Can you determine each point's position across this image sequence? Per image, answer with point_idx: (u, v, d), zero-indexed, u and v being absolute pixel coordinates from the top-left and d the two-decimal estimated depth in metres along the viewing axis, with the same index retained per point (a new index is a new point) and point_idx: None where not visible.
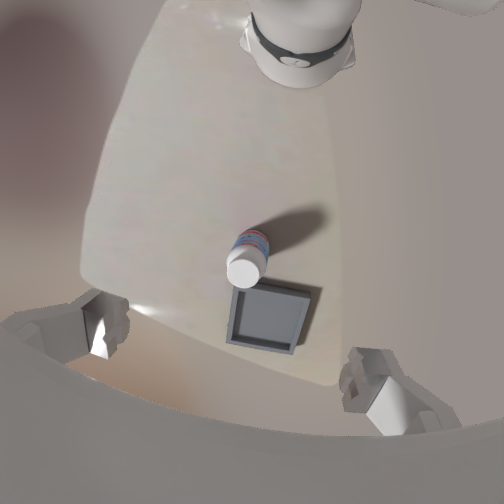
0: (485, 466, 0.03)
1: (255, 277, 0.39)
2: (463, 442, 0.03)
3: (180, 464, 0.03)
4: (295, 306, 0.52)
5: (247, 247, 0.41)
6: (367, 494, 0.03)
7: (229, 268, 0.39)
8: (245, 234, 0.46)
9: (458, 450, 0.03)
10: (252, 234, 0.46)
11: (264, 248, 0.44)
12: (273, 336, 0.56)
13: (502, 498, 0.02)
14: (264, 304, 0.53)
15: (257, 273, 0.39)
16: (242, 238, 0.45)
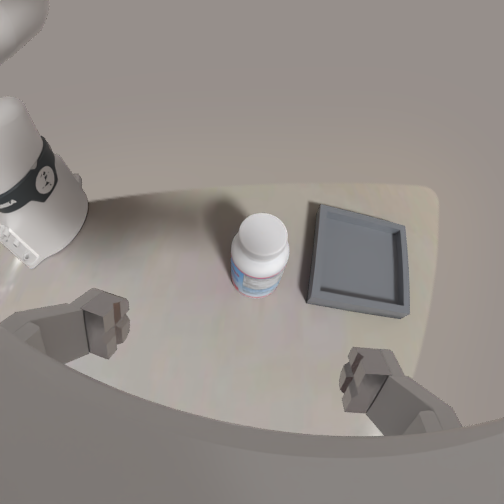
0: (485, 466, 0.03)
1: (267, 217, 0.27)
2: (463, 442, 0.03)
3: (180, 464, 0.03)
4: (337, 226, 0.39)
5: (232, 243, 0.29)
6: (367, 494, 0.03)
7: (253, 250, 0.25)
8: (232, 275, 0.33)
9: (458, 450, 0.03)
10: None
11: None
12: (386, 253, 0.38)
13: (502, 498, 0.02)
14: (340, 263, 0.37)
15: (261, 215, 0.27)
16: (232, 271, 0.32)
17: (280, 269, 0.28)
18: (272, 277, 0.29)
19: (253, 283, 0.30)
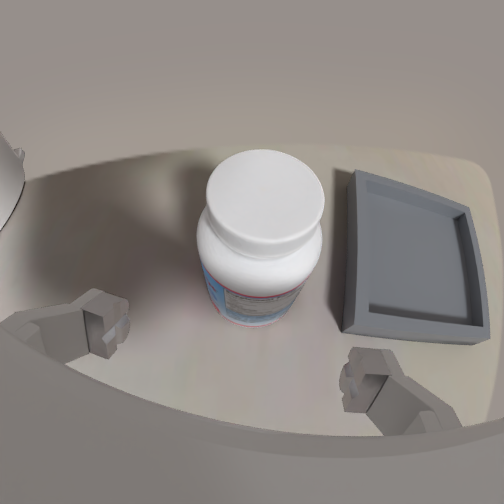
0: (485, 466, 0.03)
1: (275, 158, 0.11)
2: (463, 442, 0.03)
3: (180, 464, 0.03)
4: (380, 204, 0.24)
5: None
6: (367, 494, 0.03)
7: (242, 230, 0.10)
8: None
9: (458, 450, 0.03)
10: None
11: None
12: (451, 246, 0.22)
13: (502, 498, 0.02)
14: (392, 262, 0.21)
15: (261, 153, 0.11)
16: (205, 279, 0.16)
17: (305, 277, 0.12)
18: (285, 295, 0.13)
19: (245, 306, 0.14)
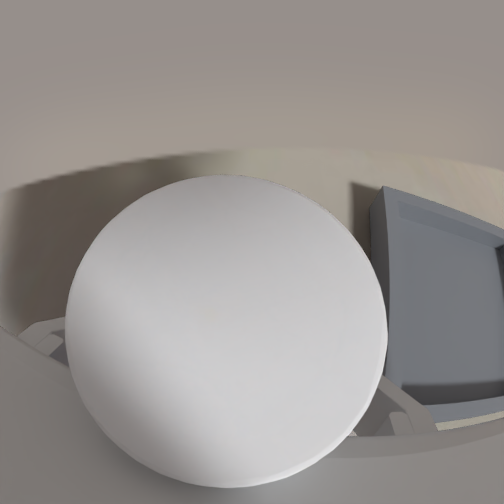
0: (485, 466, 0.03)
1: (255, 201, 0.04)
2: (463, 442, 0.03)
3: None
4: (414, 234, 0.17)
5: None
6: (367, 494, 0.03)
7: (145, 452, 0.03)
8: None
9: (458, 450, 0.03)
10: None
11: None
12: (494, 287, 0.15)
13: (502, 498, 0.02)
14: (430, 319, 0.14)
15: (217, 187, 0.04)
16: None
17: None
18: None
19: None
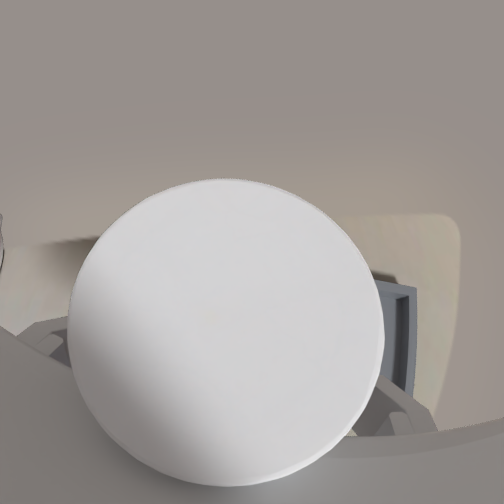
0: (485, 466, 0.03)
1: (255, 205, 0.04)
2: (463, 442, 0.03)
3: None
4: None
5: None
6: (367, 494, 0.03)
7: (146, 452, 0.03)
8: None
9: (458, 450, 0.03)
10: None
11: None
12: (385, 333, 0.24)
13: (502, 498, 0.02)
14: None
15: (217, 190, 0.04)
16: None
17: None
18: None
19: None
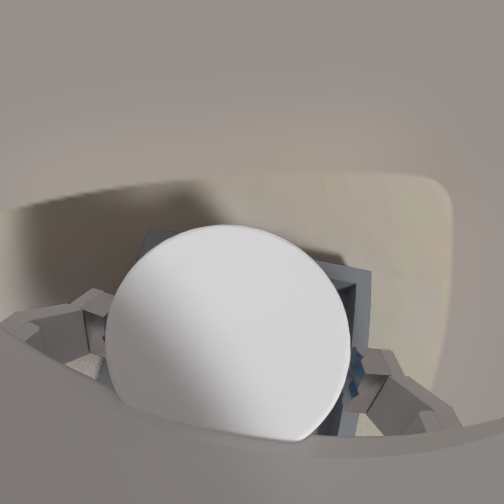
0: (485, 466, 0.03)
1: (252, 249, 0.05)
2: (463, 442, 0.03)
3: (180, 464, 0.03)
4: None
5: None
6: (367, 494, 0.03)
7: None
8: None
9: (458, 450, 0.03)
10: None
11: None
12: None
13: (502, 498, 0.02)
14: None
15: (222, 235, 0.06)
16: None
17: None
18: None
19: None
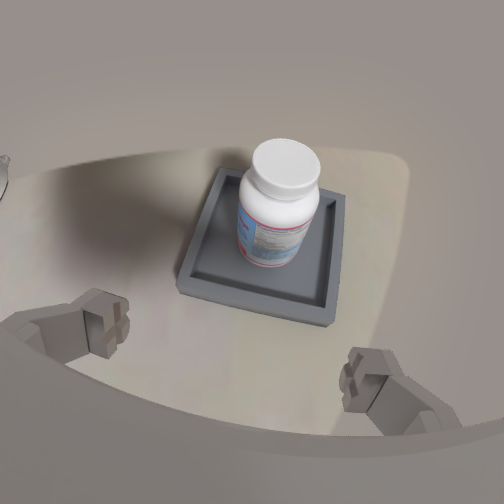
0: (485, 466, 0.03)
1: (292, 144, 0.18)
2: (463, 442, 0.03)
3: (180, 464, 0.03)
4: None
5: None
6: (367, 494, 0.03)
7: (274, 180, 0.17)
8: (238, 233, 0.25)
9: (458, 450, 0.03)
10: None
11: None
12: (312, 231, 0.29)
13: (502, 498, 0.02)
14: (235, 242, 0.28)
15: (283, 140, 0.19)
16: (239, 225, 0.23)
17: (308, 217, 0.20)
18: (295, 230, 0.20)
19: (268, 239, 0.21)
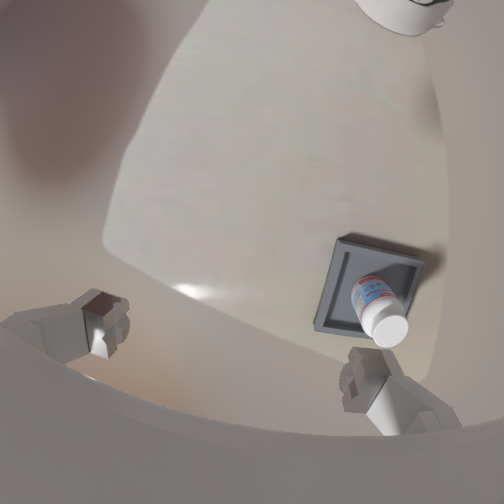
0: (484, 466, 0.03)
1: (403, 334, 0.29)
2: (463, 442, 0.03)
3: (180, 464, 0.03)
4: (403, 275, 0.38)
5: (391, 298, 0.31)
6: (367, 494, 0.03)
7: (378, 326, 0.29)
8: (370, 281, 0.37)
9: (458, 450, 0.03)
10: (379, 281, 0.36)
11: None
12: None
13: (502, 498, 0.02)
14: (369, 273, 0.39)
15: (406, 329, 0.29)
16: (372, 286, 0.35)
17: (365, 332, 0.33)
18: (361, 323, 0.34)
19: (359, 307, 0.35)
